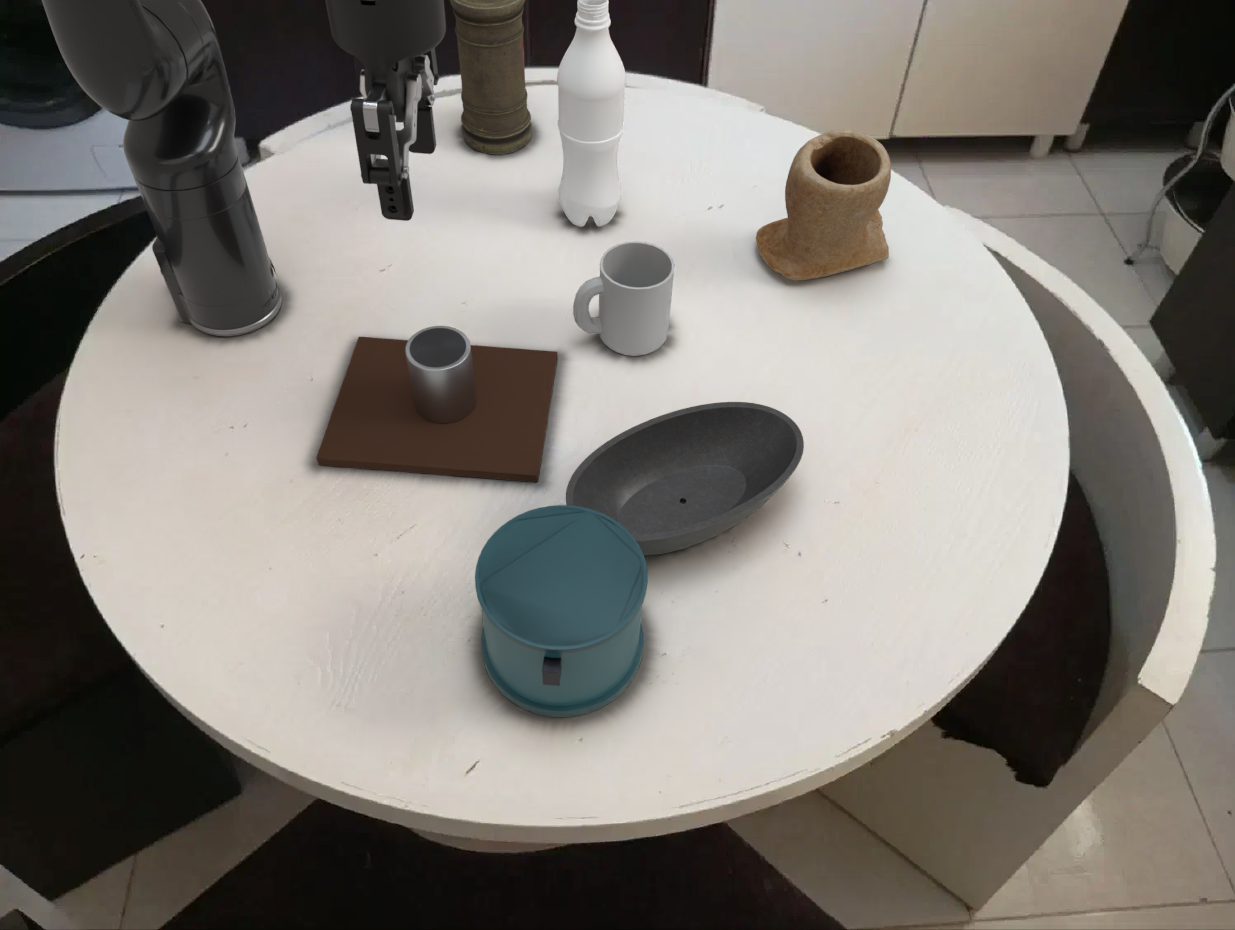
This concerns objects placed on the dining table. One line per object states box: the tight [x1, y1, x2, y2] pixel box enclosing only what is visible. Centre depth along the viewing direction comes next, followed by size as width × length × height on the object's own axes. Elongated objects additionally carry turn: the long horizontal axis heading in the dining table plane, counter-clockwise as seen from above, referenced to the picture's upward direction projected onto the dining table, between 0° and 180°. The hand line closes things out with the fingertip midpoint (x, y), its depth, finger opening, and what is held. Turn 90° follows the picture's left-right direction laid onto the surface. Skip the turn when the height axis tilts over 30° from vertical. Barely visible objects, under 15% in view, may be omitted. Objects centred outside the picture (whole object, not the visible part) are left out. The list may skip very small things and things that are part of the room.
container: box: [449, 0, 533, 155], centre depth 118 cm, size 9×9×18 cm
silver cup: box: [405, 325, 477, 424], centre depth 91 cm, size 6×6×7 cm
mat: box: [315, 336, 559, 483], centre depth 94 cm, size 20×16×1 cm
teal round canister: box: [474, 504, 649, 718], centre depth 75 cm, size 13×14×10 cm
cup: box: [572, 240, 675, 357], centre depth 98 cm, size 7×10×9 cm
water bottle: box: [556, 0, 627, 228], centre depth 105 cm, size 7×7×25 cm
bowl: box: [564, 401, 805, 556], centre depth 85 cm, size 12×22×6 cm, turn 119°
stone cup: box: [755, 129, 892, 281], centre depth 105 cm, size 15×12×15 cm
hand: (410, 183), depth 75 cm, fingers open, 8 cm apart
